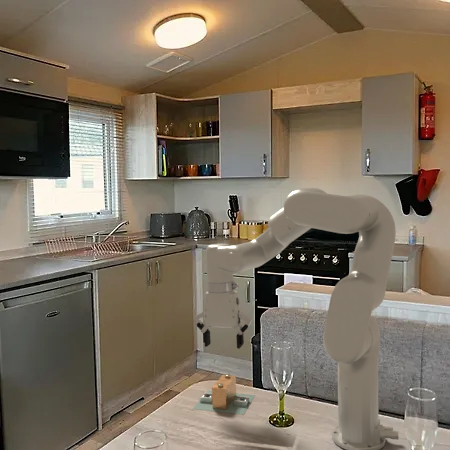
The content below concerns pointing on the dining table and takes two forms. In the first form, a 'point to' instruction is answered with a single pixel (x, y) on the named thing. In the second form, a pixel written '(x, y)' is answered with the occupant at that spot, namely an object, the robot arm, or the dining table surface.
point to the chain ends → (239, 402)
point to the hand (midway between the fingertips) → (223, 346)
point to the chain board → (230, 409)
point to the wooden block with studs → (224, 392)
